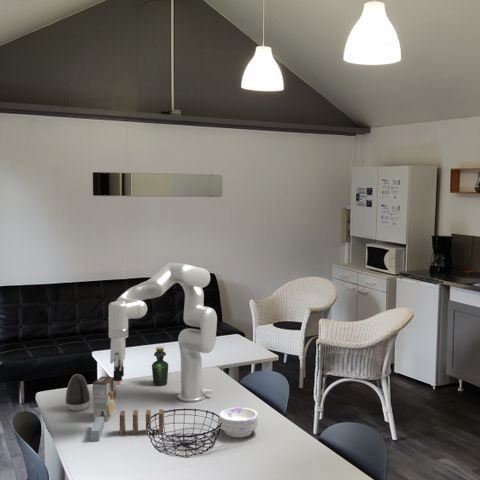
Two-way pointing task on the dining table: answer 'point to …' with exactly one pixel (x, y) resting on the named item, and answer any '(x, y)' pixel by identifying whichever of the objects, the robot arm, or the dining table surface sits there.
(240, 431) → the white floral bowl
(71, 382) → the dark grey egg shape
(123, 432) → the domino
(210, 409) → the dining table surface
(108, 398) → the coffee box
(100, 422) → the end block
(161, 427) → the domino
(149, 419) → the domino
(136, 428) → the domino
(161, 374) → the potion bottle
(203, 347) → the robot arm
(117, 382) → the domino
